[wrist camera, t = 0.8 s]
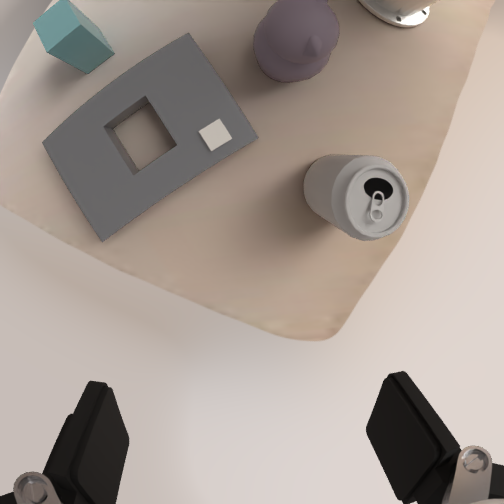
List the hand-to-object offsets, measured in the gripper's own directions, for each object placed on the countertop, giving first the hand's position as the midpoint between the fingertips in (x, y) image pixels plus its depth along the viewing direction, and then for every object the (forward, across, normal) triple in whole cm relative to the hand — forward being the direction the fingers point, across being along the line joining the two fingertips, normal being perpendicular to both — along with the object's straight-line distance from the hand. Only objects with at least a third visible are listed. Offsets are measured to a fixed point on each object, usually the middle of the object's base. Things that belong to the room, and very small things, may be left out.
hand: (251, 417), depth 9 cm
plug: (+27, +17, -22) cm, 39 cm away
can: (+28, -12, -5) cm, 30 cm away
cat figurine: (+28, -6, -20) cm, 35 cm away
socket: (+27, +10, -11) cm, 31 cm away
